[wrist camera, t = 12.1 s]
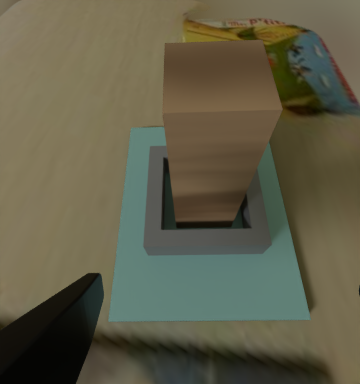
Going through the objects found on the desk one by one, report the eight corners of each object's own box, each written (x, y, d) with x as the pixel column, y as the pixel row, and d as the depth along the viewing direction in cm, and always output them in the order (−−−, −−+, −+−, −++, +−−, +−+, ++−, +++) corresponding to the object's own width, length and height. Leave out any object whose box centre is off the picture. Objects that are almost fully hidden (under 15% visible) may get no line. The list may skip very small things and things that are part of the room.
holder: (304, 319, 18) (329, 319, 15) (112, 321, 18) (96, 321, 15) (262, 131, 26) (272, 105, 23) (133, 134, 27) (125, 109, 23)
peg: (230, 227, 20) (282, 109, 9) (176, 228, 20) (162, 113, 9) (225, 180, 22) (262, 40, 11) (176, 181, 22) (164, 43, 11)
